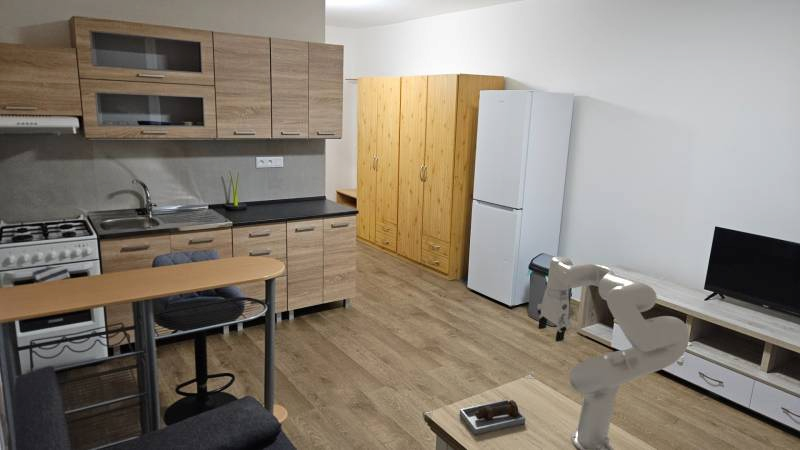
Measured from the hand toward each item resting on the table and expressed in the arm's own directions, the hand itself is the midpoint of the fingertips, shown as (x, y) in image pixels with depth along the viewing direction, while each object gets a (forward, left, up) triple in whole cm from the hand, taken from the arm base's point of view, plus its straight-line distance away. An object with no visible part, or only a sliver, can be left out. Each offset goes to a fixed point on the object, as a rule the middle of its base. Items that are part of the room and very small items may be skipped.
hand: (550, 334), depth 192 cm
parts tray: (-5, +24, -28) cm, 37 cm away
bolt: (-4, +23, -27) cm, 36 cm away
